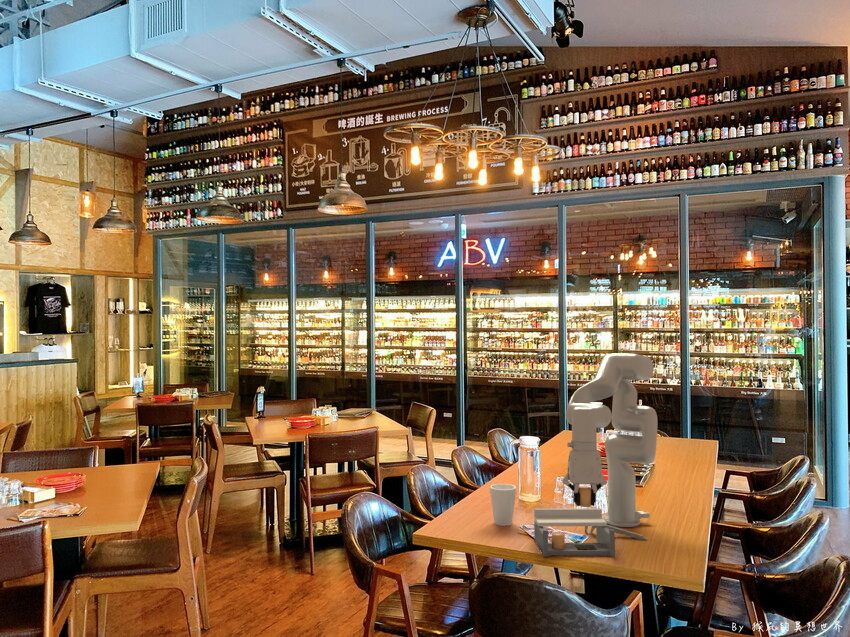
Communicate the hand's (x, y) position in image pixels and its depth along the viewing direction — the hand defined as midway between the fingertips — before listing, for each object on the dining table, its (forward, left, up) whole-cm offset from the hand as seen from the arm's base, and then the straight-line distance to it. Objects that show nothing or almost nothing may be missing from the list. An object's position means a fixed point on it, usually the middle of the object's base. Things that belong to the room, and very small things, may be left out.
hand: (584, 504), depth 197 cm
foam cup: (+22, -31, -15) cm, 40 cm away
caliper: (-14, -16, -15) cm, 26 cm away
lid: (+3, -8, -8) cm, 12 cm away
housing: (+3, -4, -15) cm, 16 cm away
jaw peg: (0, 0, 0) cm, 0 cm away
